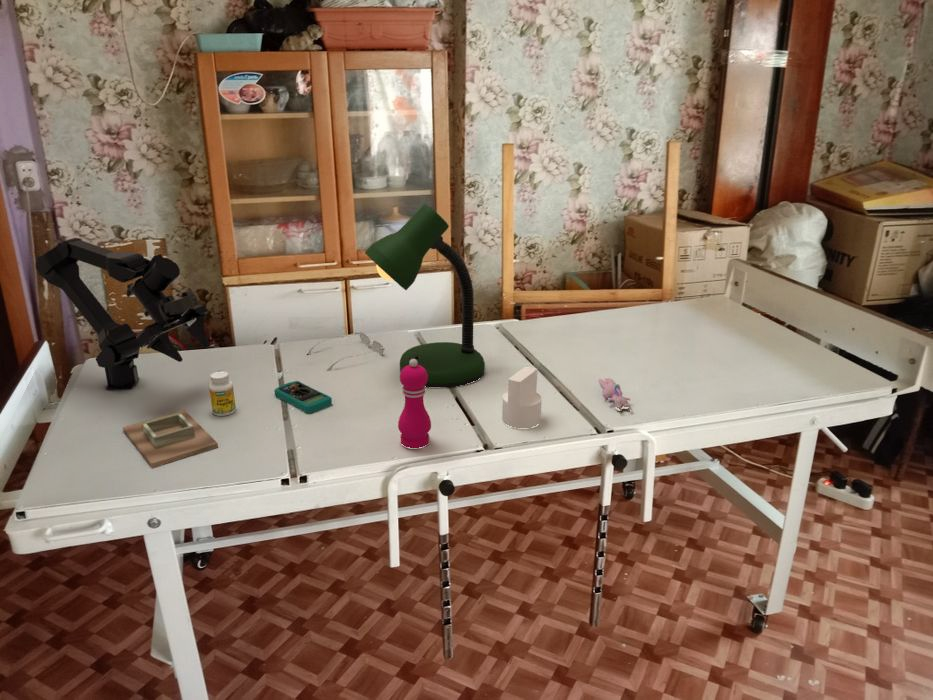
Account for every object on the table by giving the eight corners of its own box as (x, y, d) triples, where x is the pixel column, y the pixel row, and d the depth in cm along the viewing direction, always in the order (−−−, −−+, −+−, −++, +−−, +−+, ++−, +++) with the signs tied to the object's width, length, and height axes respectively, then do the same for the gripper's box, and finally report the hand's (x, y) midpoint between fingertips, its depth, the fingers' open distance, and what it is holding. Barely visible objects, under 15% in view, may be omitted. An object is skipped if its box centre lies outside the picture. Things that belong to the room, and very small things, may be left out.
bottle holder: (123, 431, 170) (120, 417, 169) (185, 413, 178) (183, 400, 177) (152, 467, 156) (149, 452, 154) (218, 447, 164) (216, 432, 162)
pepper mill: (398, 435, 169) (396, 353, 162) (430, 434, 170) (429, 352, 163) (398, 451, 163) (396, 366, 155) (432, 450, 163) (431, 365, 156)
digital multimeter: (297, 388, 193) (296, 377, 192) (333, 406, 183) (332, 395, 182) (273, 397, 188) (272, 386, 187) (308, 416, 179) (307, 405, 177)
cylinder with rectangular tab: (529, 433, 171) (531, 385, 166) (495, 423, 175) (496, 376, 171) (547, 418, 178) (549, 371, 174) (513, 408, 182) (515, 363, 178)
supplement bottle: (232, 404, 183) (227, 368, 179) (239, 413, 179) (234, 376, 175) (209, 409, 180) (204, 373, 177) (216, 418, 176) (211, 381, 172)
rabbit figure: (636, 417, 182) (612, 383, 194) (640, 397, 179) (615, 363, 191) (612, 420, 180) (589, 385, 193) (616, 400, 177) (592, 366, 190)
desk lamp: (381, 398, 187) (375, 218, 170) (361, 364, 207) (353, 199, 190) (496, 381, 197) (501, 209, 180) (466, 350, 217) (468, 193, 200)
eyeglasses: (385, 359, 211) (385, 346, 210) (327, 374, 202) (326, 360, 200) (359, 342, 223) (359, 329, 221) (303, 355, 213) (302, 342, 212)
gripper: (140, 294, 166) (184, 351, 167) (199, 272, 182) (239, 324, 183) (117, 319, 172) (159, 374, 172) (176, 296, 187) (214, 346, 188)
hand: (195, 353), depth 179 cm, fingers open, 9 cm apart
